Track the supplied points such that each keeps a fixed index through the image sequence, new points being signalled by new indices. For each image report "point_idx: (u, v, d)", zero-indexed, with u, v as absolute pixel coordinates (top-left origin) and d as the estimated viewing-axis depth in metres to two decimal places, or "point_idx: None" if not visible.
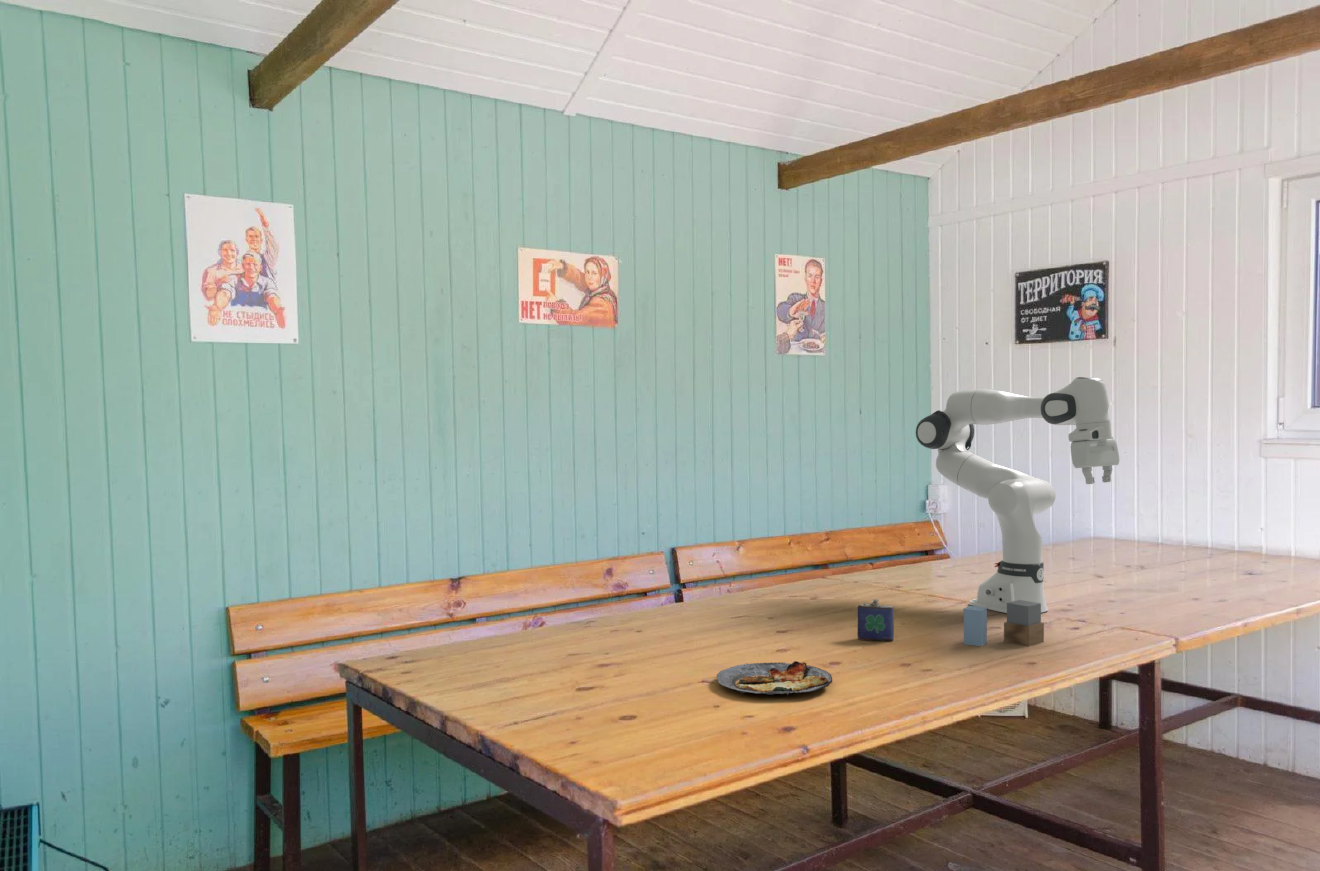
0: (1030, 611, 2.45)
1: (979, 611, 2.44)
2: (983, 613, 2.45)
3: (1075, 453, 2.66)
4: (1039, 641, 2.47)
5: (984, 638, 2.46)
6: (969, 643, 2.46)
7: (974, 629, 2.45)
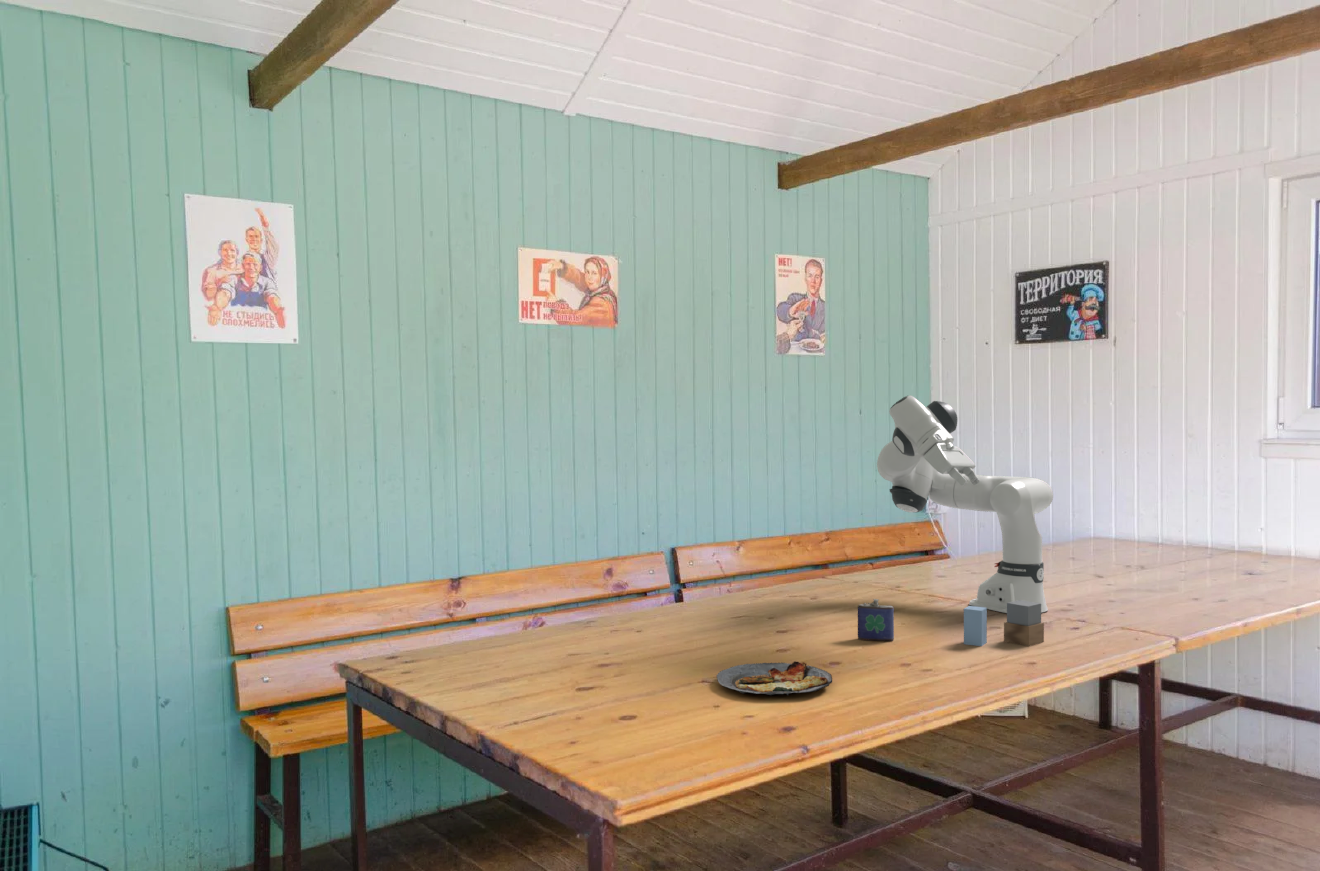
0: (1030, 611, 2.45)
1: (979, 611, 2.44)
2: (983, 613, 2.45)
3: (933, 460, 2.49)
4: (1039, 641, 2.47)
5: (984, 638, 2.46)
6: (969, 643, 2.46)
7: (974, 629, 2.45)
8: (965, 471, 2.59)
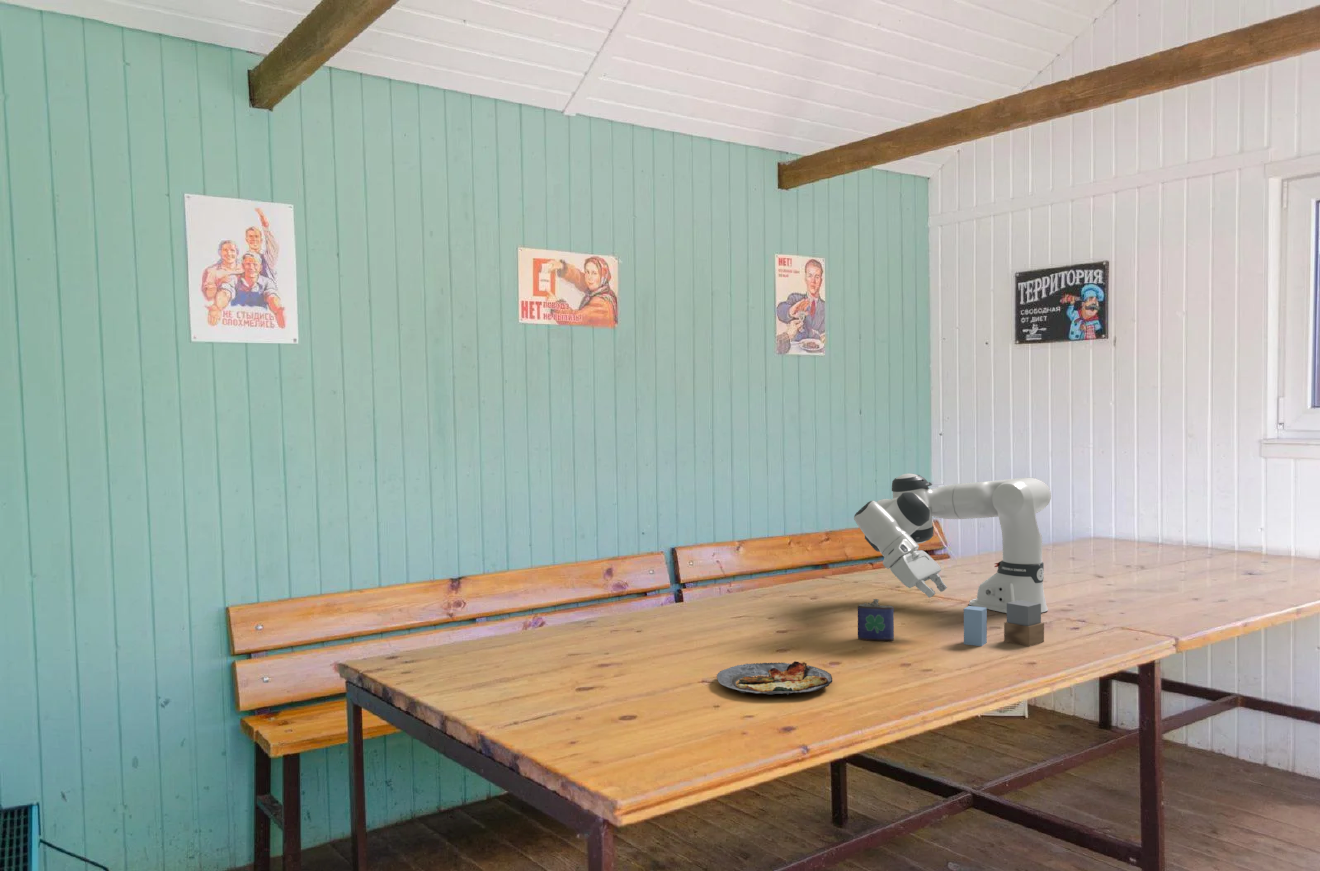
0: (1029, 611, 2.45)
1: (979, 611, 2.44)
2: (983, 613, 2.45)
3: (900, 574, 2.47)
4: (1039, 641, 2.47)
5: (984, 638, 2.46)
6: (969, 643, 2.46)
7: (974, 629, 2.45)
8: (931, 577, 2.58)
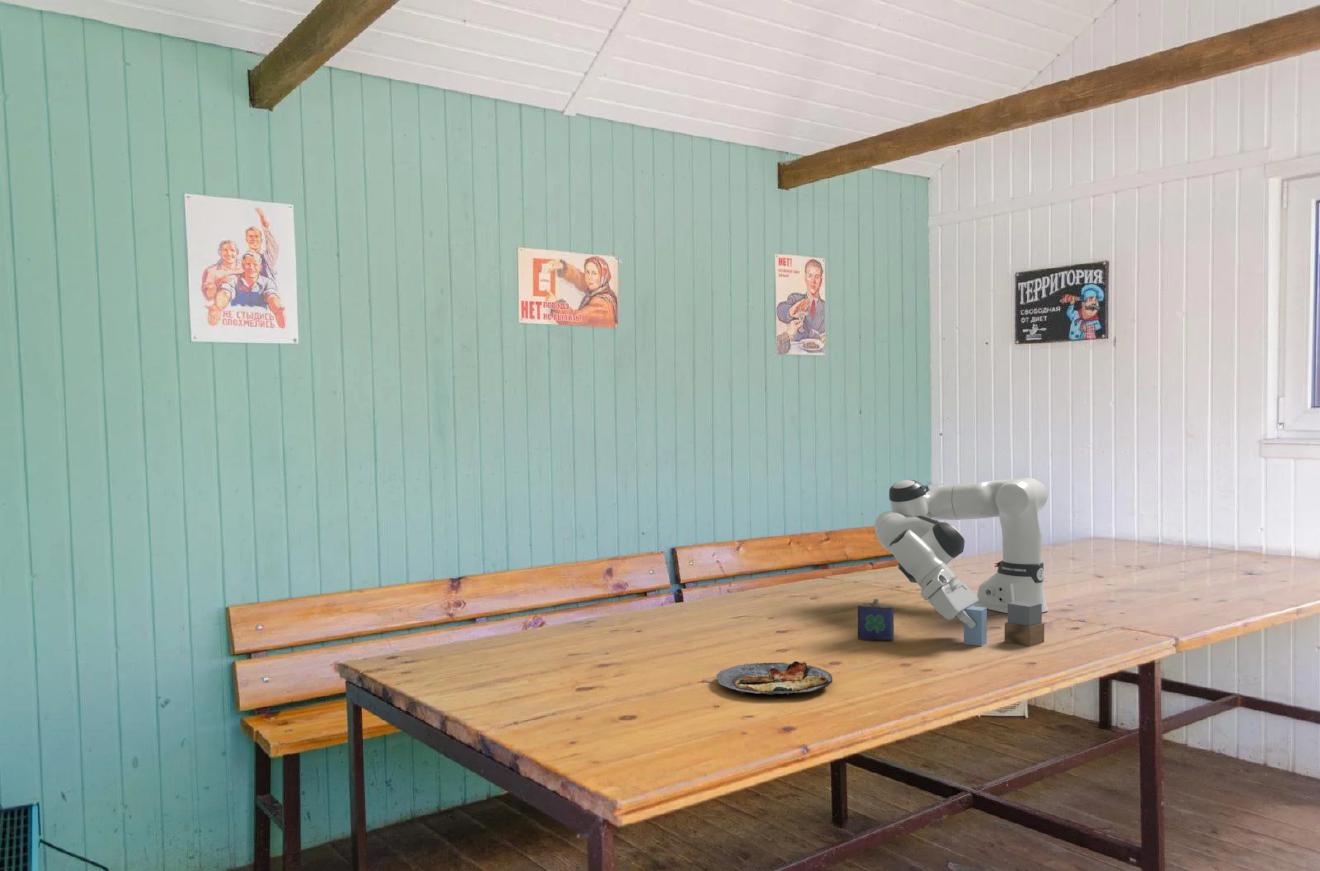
0: (1030, 611, 2.45)
1: (979, 611, 2.44)
2: (983, 613, 2.45)
3: (939, 606, 2.42)
4: (1040, 641, 2.47)
5: (984, 638, 2.46)
6: (969, 643, 2.46)
7: (974, 628, 2.45)
8: None
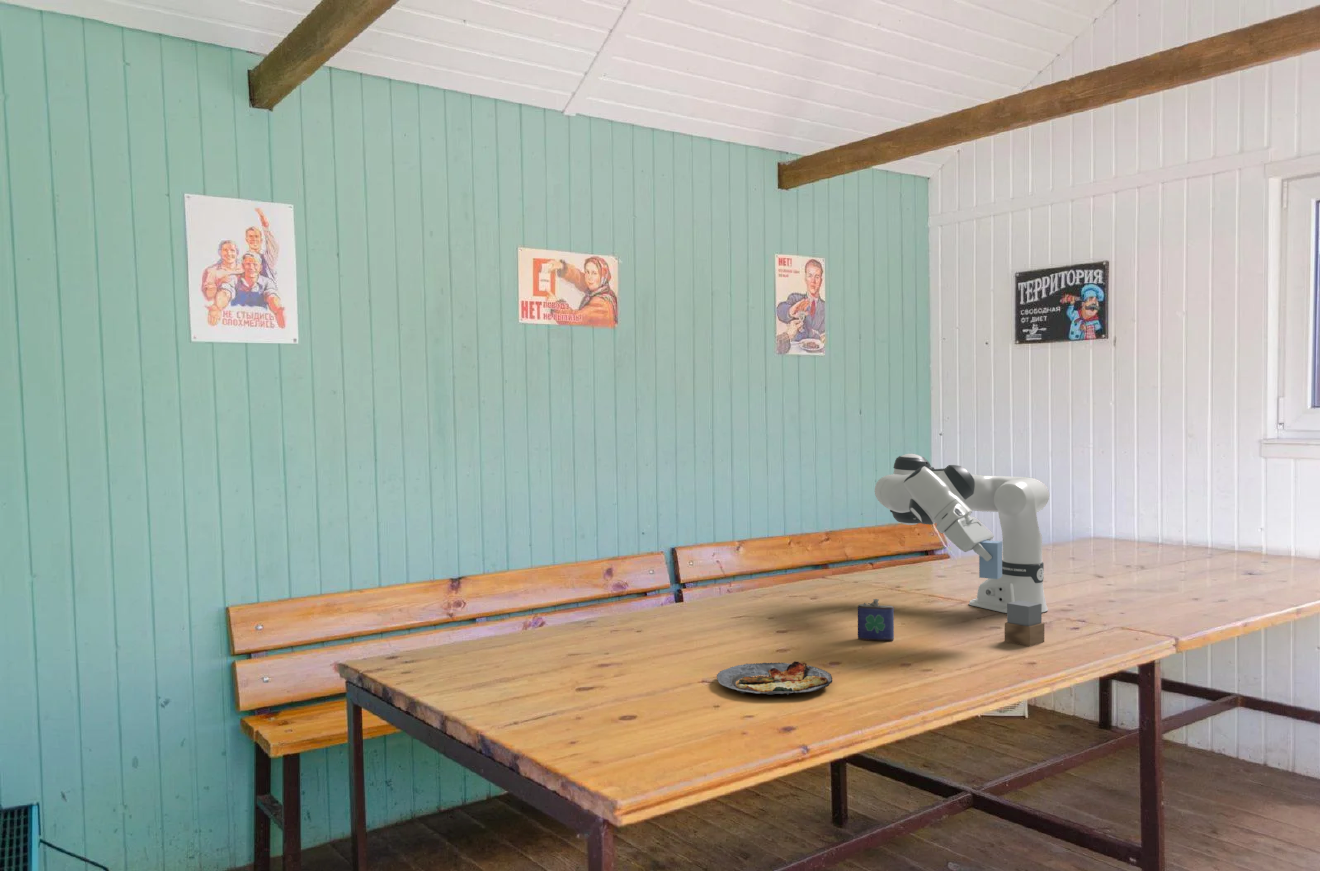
0: (1030, 611, 2.45)
1: (995, 544, 2.44)
2: (998, 546, 2.45)
3: (955, 538, 2.42)
4: (1040, 641, 2.47)
5: (999, 571, 2.46)
6: (985, 576, 2.45)
7: (990, 562, 2.45)
8: None
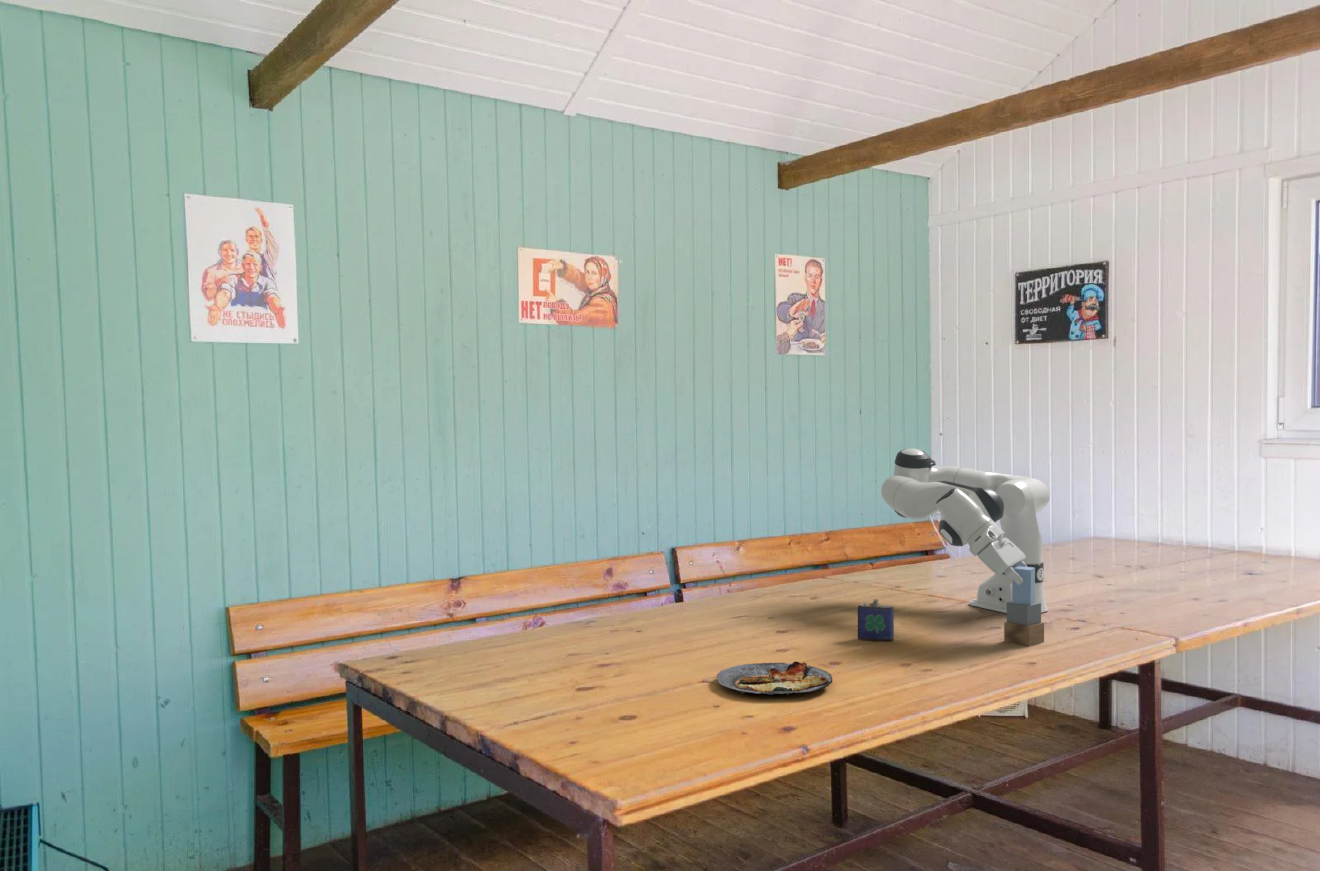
0: (1029, 611, 2.45)
1: (1028, 570, 2.46)
2: (1032, 572, 2.47)
3: (989, 561, 2.44)
4: (1039, 641, 2.47)
5: (1032, 597, 2.48)
6: (1018, 602, 2.48)
7: (1023, 588, 2.47)
8: (1017, 564, 2.54)
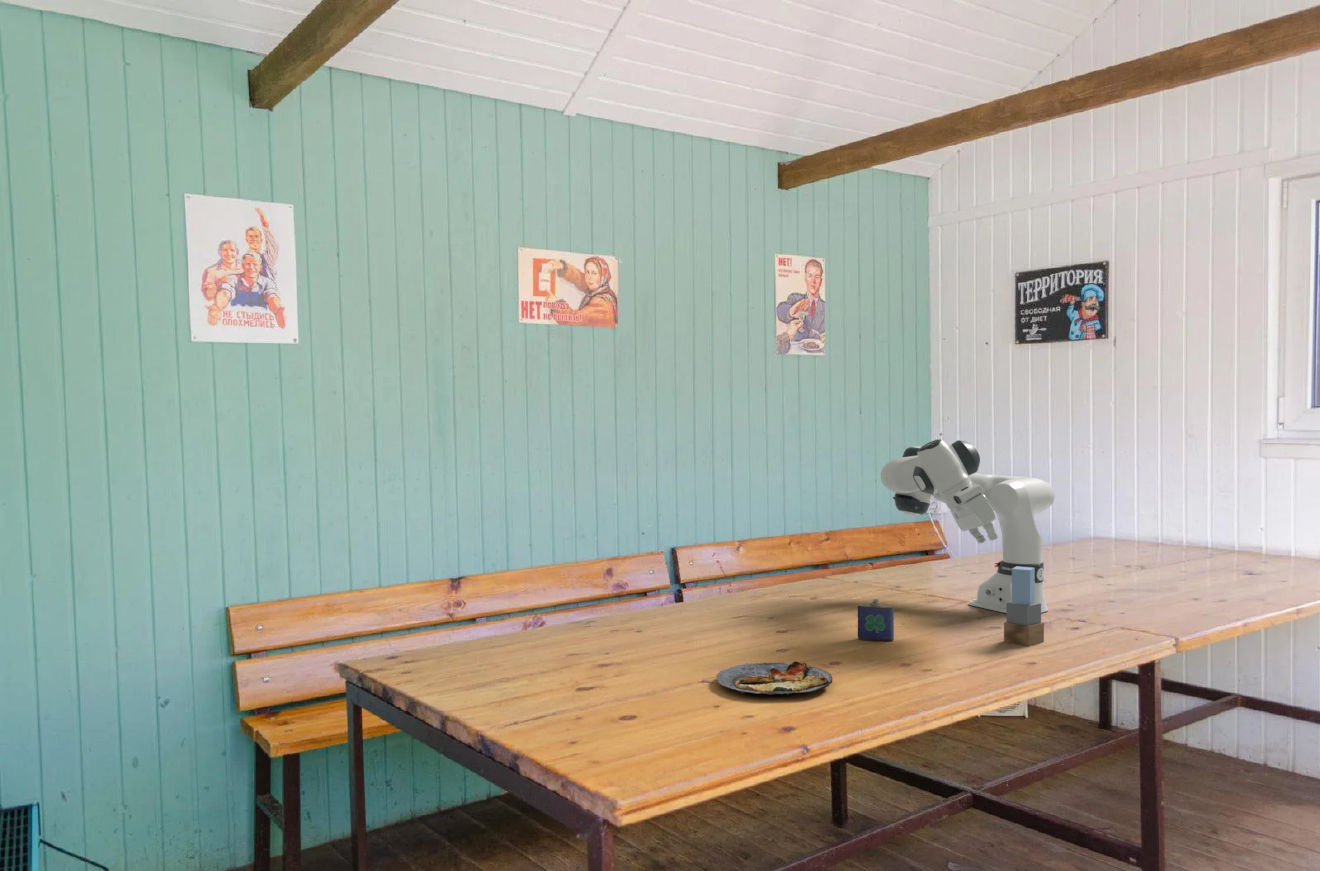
0: (1029, 611, 2.45)
1: (1027, 571, 2.46)
2: (1031, 573, 2.46)
3: (980, 509, 2.48)
4: (1039, 641, 2.47)
5: (1032, 597, 2.48)
6: (1017, 603, 2.47)
7: (1022, 588, 2.47)
8: None
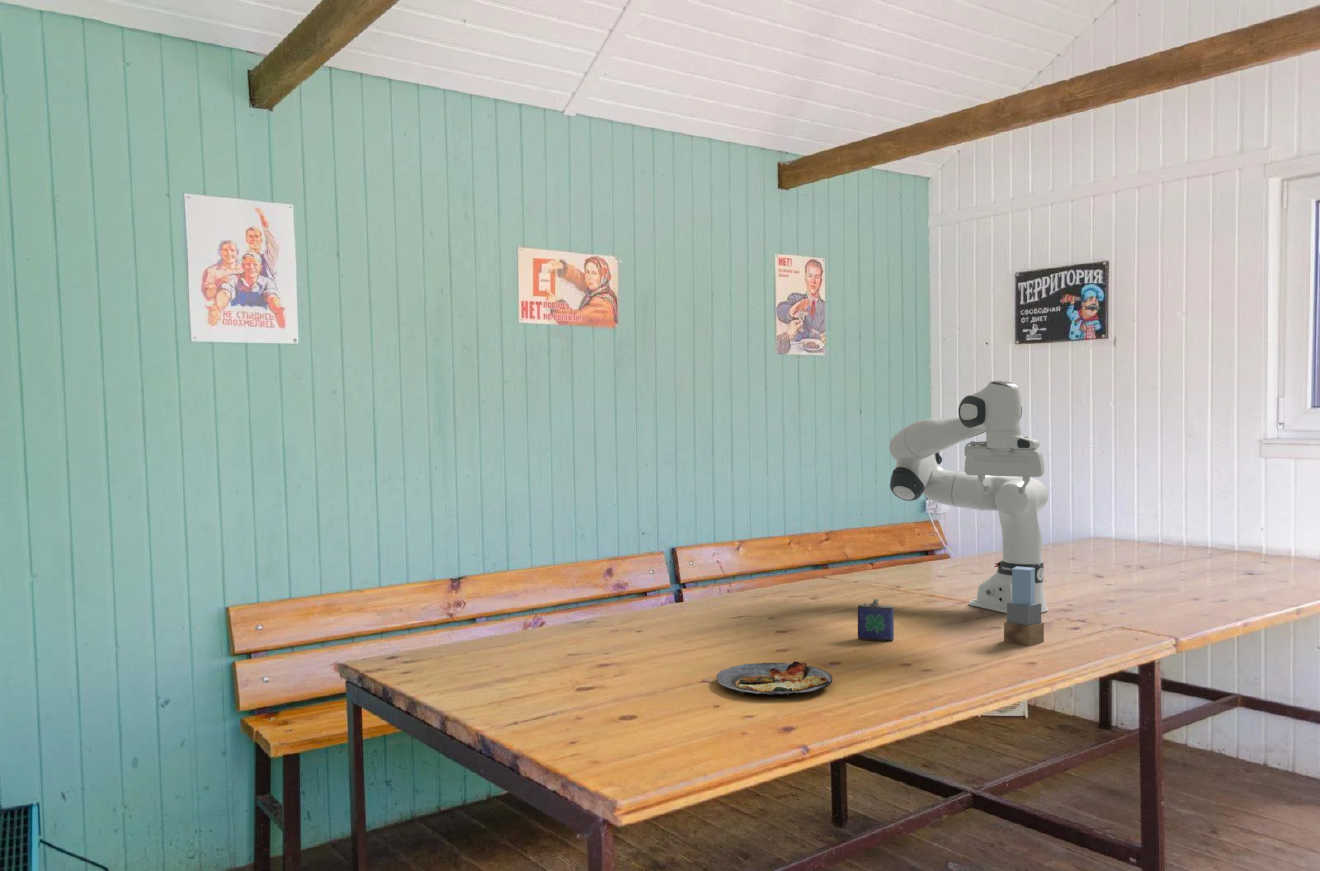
0: (1029, 611, 2.45)
1: (1028, 571, 2.46)
2: (1031, 573, 2.47)
3: (1041, 461, 2.54)
4: (1039, 641, 2.47)
5: (1032, 597, 2.48)
6: (1017, 603, 2.47)
7: (1023, 588, 2.47)
8: (983, 475, 2.63)
